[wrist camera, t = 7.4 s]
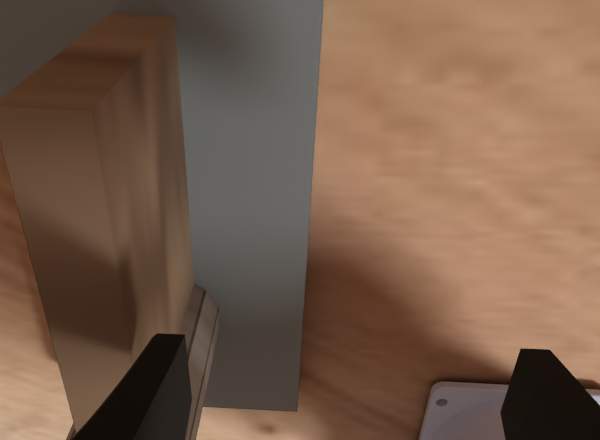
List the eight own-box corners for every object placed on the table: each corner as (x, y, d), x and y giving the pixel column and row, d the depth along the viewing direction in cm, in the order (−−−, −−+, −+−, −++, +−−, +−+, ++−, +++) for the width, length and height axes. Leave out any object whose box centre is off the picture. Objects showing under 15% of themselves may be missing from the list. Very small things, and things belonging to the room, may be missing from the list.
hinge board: (298, 384, 26) (294, 474, 22) (80, 373, 26) (40, 461, 22) (325, -41, 17) (326, -9, 13) (-21, -60, 17) (-122, -33, 13)
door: (79, 11, 16) (-61, 103, 10) (207, 17, 16) (142, 114, 10) (132, 345, 23) (68, 513, 17) (221, 349, 23) (187, 520, 17)
